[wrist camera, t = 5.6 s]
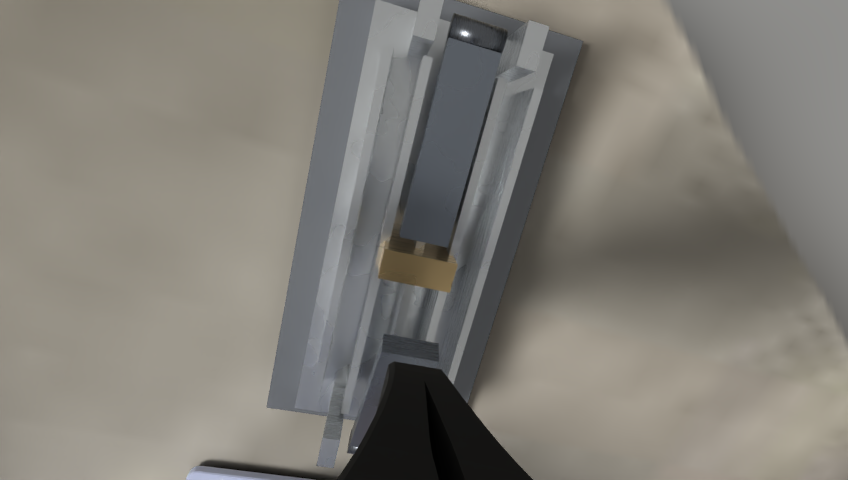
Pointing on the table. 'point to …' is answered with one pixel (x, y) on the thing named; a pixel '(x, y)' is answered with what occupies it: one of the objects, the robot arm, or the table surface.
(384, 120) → the grey slide rail
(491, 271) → the slate board
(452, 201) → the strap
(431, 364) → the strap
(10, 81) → the table surface
